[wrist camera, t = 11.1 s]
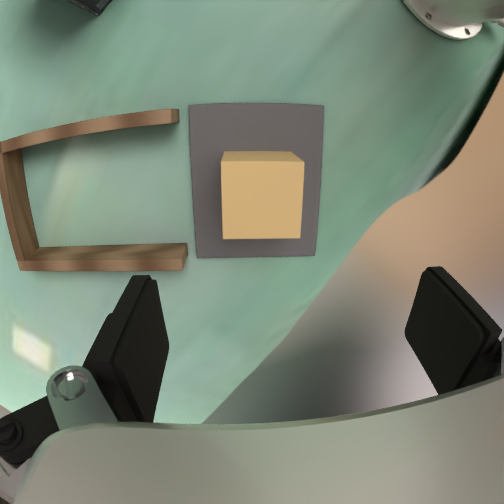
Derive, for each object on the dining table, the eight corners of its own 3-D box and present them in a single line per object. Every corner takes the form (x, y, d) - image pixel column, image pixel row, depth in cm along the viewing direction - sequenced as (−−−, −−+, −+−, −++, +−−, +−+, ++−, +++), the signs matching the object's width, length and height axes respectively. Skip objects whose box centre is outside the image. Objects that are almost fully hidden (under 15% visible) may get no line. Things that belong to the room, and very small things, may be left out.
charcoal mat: (322, 105, 26) (323, 105, 25) (314, 253, 32) (315, 255, 32) (189, 105, 25) (189, 105, 25) (197, 256, 32) (197, 258, 31)
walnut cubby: (178, 109, 25) (170, 108, 22) (187, 253, 32) (182, 270, 28) (12, 138, 25) (-7, 143, 21) (34, 256, 31) (20, 270, 28)
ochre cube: (290, 151, 27) (304, 162, 22) (288, 213, 30) (300, 238, 24) (224, 151, 27) (220, 161, 21) (225, 214, 29) (222, 239, 24)
